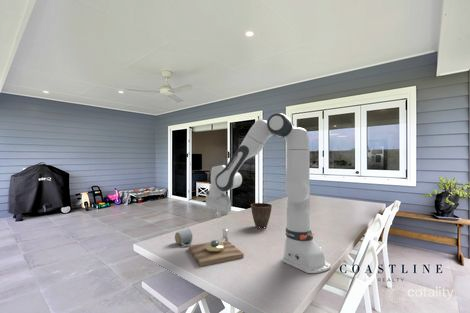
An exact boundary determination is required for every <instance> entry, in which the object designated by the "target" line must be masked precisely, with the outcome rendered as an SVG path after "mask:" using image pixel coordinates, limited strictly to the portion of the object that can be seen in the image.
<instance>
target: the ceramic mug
mask: <svg viewBox="0 0 470 313" xmlns="http://www.w3.org/2000/svg"><path fill="white" fill-rule="evenodd" d="M174 240H175V243H176V245H179V246H181V245H182V247H184V248H185V247H186V248H188V247H189V246H190V245H193V233H192V230H191V229H190V228H185V229H182V230H179V231H177V232H175V234H174ZM187 246H188V247H187Z"/></svg>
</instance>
